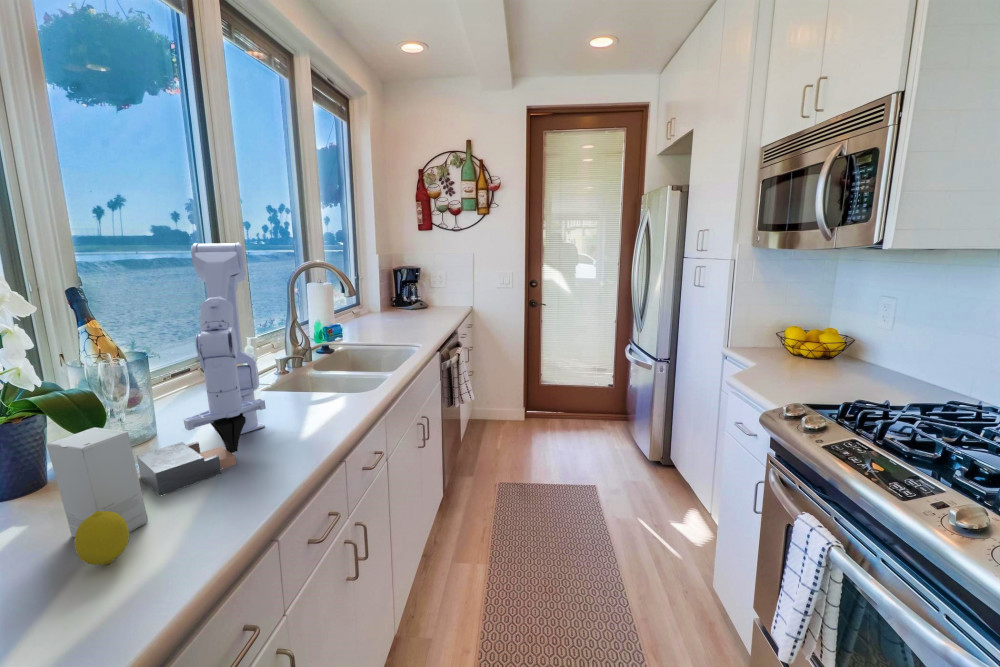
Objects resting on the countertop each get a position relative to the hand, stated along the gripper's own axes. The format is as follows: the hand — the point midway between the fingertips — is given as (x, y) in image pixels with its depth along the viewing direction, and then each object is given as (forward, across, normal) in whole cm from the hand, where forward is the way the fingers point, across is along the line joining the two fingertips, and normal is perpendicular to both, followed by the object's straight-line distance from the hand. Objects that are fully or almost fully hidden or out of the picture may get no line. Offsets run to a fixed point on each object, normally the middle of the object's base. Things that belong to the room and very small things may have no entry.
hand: (232, 451), depth 94 cm
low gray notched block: (+1, -8, 0) cm, 8 cm away
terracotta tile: (+2, -7, 0) cm, 7 cm away
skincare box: (+2, -22, -11) cm, 25 cm away
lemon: (+2, -24, -21) cm, 32 cm away
